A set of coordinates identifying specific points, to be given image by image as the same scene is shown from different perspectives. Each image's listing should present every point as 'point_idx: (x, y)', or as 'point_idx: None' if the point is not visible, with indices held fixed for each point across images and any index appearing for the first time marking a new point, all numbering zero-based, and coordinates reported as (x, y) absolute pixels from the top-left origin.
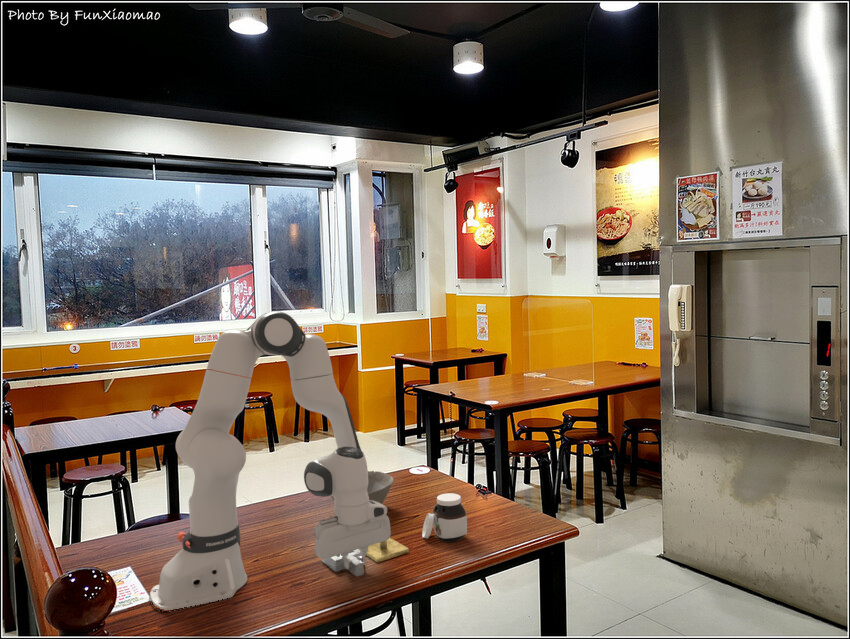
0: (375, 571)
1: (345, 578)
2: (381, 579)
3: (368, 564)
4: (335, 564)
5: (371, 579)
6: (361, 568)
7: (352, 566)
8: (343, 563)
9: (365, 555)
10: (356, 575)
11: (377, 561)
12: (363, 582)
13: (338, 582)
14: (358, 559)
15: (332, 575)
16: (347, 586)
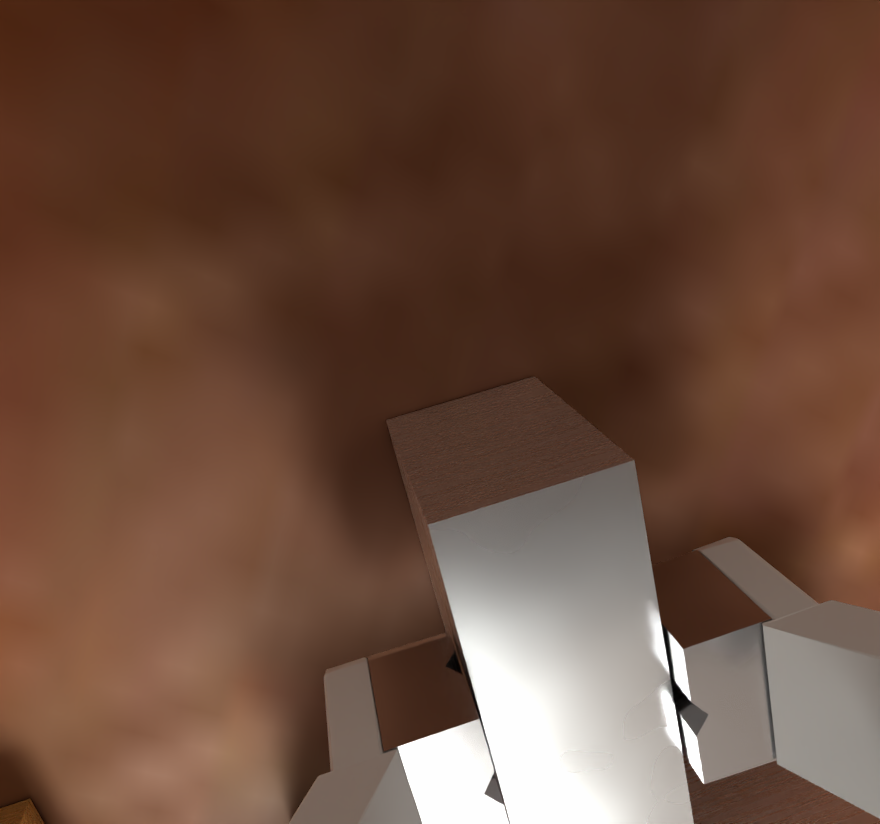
0: (124, 464)
1: (725, 394)
2: (50, 18)
3: (206, 771)
4: None
5: (284, 133)
6: (455, 457)
7: None
8: (696, 782)
9: (303, 810)
10: (543, 388)
11: (9, 816)
12: (481, 72)
13: (874, 293)
14: (488, 733)
15: (854, 572)
16: (807, 51)
